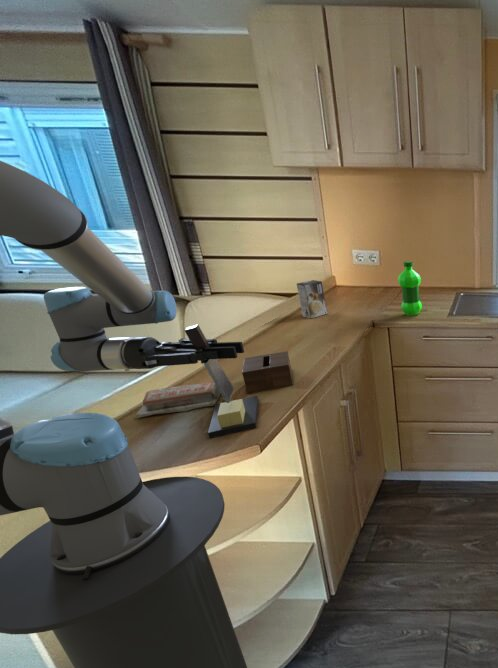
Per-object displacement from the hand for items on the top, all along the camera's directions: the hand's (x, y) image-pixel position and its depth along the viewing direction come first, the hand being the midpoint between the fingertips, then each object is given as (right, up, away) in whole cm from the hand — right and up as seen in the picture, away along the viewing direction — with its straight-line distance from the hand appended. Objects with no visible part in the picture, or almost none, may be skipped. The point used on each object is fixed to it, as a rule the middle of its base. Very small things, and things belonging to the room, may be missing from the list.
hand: (238, 349), depth 98 cm
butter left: (-7, -18, +6) cm, 20 cm away
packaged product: (-26, -16, +16) cm, 35 cm away
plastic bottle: (+21, +16, +98) cm, 101 cm away
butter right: (-4, -18, +7) cm, 20 cm away
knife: (-5, -12, +5) cm, 14 cm away
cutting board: (-7, -18, +10) cm, 22 cm away
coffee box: (-25, +15, +96) cm, 100 cm away
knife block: (-9, -10, +30) cm, 33 cm away
